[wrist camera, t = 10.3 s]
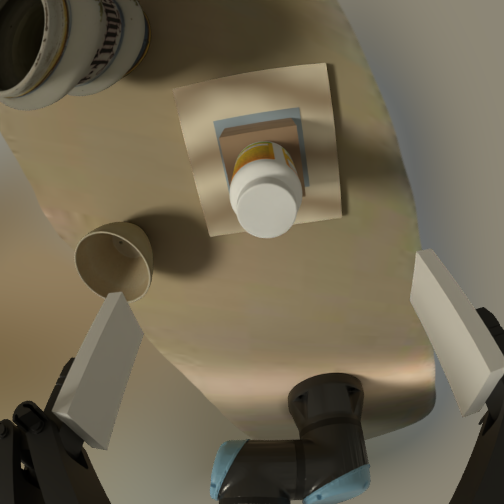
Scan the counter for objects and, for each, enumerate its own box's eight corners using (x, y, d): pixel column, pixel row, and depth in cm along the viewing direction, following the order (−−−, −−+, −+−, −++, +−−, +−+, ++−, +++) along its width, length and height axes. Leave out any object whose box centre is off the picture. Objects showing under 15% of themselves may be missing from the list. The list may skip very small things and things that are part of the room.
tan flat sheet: (340, 213, 38) (342, 217, 37) (210, 232, 40) (209, 237, 39) (323, 63, 29) (326, 62, 28) (174, 88, 30) (171, 89, 29)
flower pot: (167, 210, 38) (150, 239, 32) (165, 275, 43) (151, 310, 37) (95, 200, 37) (68, 226, 31) (100, 263, 43) (80, 295, 37)
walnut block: (299, 179, 35) (305, 196, 30) (237, 188, 35) (234, 207, 31) (291, 117, 31) (296, 125, 27) (224, 128, 32) (218, 137, 27)
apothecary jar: (63, 91, 30) (-47, 126, 14) (74, -1, 23) (-33, -17, 8) (153, 92, 30) (64, 119, 15) (170, -9, 24) (93, -64, 9)
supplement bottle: (226, 181, 30) (213, 230, 22) (249, 130, 27) (244, 159, 19) (278, 203, 31) (285, 258, 23) (303, 154, 28) (322, 194, 20)
